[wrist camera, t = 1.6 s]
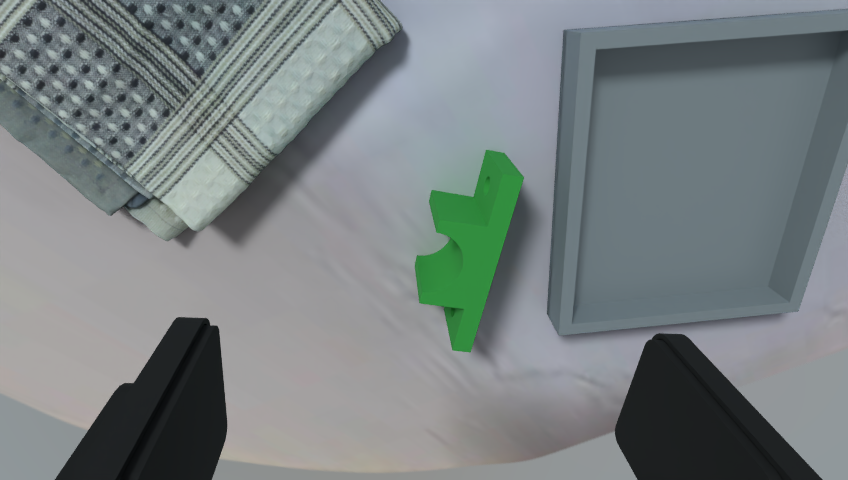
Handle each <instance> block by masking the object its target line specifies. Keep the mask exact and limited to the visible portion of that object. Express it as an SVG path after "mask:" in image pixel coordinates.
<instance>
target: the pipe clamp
mask: <svg viewBox="0 0 848 480" xmlns="http://www.w3.org/2000/svg"><path fill="white" fill-rule="evenodd" d="M523 179H524V177H523V176H522V174H521V173H520V172H519V171H518V169H517V168H516V167H515V166H514V164H513V163H512V162H511V161H510V160H509V158H508V157H507V156H506V155H505V153H501V152H495V151H490V150H486V152H485V156H484V160H483V164H482V167H481V171H480V175H479V179H478V182H477V186H476V190H475V194H474V197H470V196H464V195H458V194H452V193H446V192H440V191H434V190H432V191H431V195H430V200H429V203H430V207H431V212H432V216H433V220H434V224H435V228H436V232H437V233H441V234H444V235H447V236H448V237H450V240H449V242H448V243H447V244H446V246H445V247H444V248H442V249H441V250H440V251H438V252H436V253H434V254H431V255H426V256H418V255H417V258H416V262H415V271H416V279H417V287H418V295H419V303H422V304H429V305H437V306H445V307H444V311H445V316H446V321H447V326H448V331H449V336H450V341H451V346H452V350H454V351H463V352H471V349H472V346H473V342H474V339H475V336H476V333H477V329H478V326H479V323H480V320H481V316H482V313H483V310H484V306H485V303H486V300H487V297H488V293H489V290H490V287H491V284H492V280H493V277H494V274H495V271H496V267H497V264H498V261H499V257H500V254H501V251H502V248H503V244H504V241H505V238H506V235H507V231H508V228H509V225H510V221H511V218H512V215H513V212H514V208H515V205H516V202H517V199H518V195H519V192H520V189H521V186H522V182H523Z"/></svg>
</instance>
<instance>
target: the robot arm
mask: <svg viewBox="0 0 848 480" xmlns="http://www.w3.org/2000/svg"><path fill="white" fill-rule="evenodd" d="M226 434H227V415H226V403H225V392H224V381H223V369H222V358H221V347H220V335H219V328H218V326H210V322H209V320H208V319H207V318H185V317H178V318H176V319H175V320H174V321H173V323H172V325H171V326H170V328H169V329H168V331H167V332H166V334H165V335H164V337H163V339H162V340H161V342H160V343H159V345H158V346H157V348H156V349H155V351H154V353H153V354H152V356H151V357H150V359H149V360H148V362H147V363H146V365H145V367H144V368H143V370H142V371H141V373H140V374H139V376H138V378H137V379H136V381H135V382H134V383H124V384H122V385H121V386H119V387H118V388H117V390H116V391H115V392H114V393H113V395H112V396H111V398H110V399H109V401H108V402H107V404H106V405H105V407H104V408H103V410H102V411H101V412H100V414H99V415H98V417H97V418H96V420H95V421H94V423H93V424H92V426H91V427H90V429H89V430H88V432H87V433H86V435H85V436H84V438H83V439H82V440H81V442H80V444H79V445H78V446H77V448H76V449H75V451H74V453H73V454H72V455H71V457H70V458H69V460H68V461H67V463H66V464H65V466H64V467H63V469H62V470H61V471H60V473H59V474H58V476H57V477H56V479H55V480H212V477H213V474H214V472H215V468H216V466H217V463H218V460H219V457H220V454H221V451H222V448H223V446H224V442H225V439H226ZM615 436H616V440H617V443H618V445H619V447H620V449H621V450H622V452H623V454H624V456H625V457H626V459H627V461H628V463H629V465H630V467H631V469H632V470H633V472H634V474H635V476H636V477H637V479H638V480H822V479H821V478H820V477H819V475H818V474H817V473H816V472H815V471H814V470H813V469H812V468H811V467H810V466H809V465H808V464H807V463H806V462H805V461H804V460H803V459H802V458H801V456H800V455H799V454H798V453H797V452H796V451H795V450H794V449H793V448H792V447H791V446H790V445H789V444H788V443H787V442H786V441H785V440H784V439H783V438H782V436H781V435H780V434H779V433H778V432H777V431H776V430H775V429H774V428H773V427H772V426H771V425H770V424H769V423H768V422H767V421H766V419H765V418H763V416H762V415H761V414H760V413H759V412H758V411H757V410H756V409H755V408H754V407H753V406H752V405H751V404H750V403H749V402H748V401H747V399H745V397H744V396H743V395H742V394H741V393H740V392H739V391H738V390H737V389H736V388H735V387H734V386H733V385H732V384H731V383H730V381H729V380H728V379H727V378H726V377H725V376H724V375H723V374H722V373H721V372H720V371H719V370H718V369H717V368H716V367H715V366H714V365H713V363H712V362H711V361H710V360H709V359H708V358H707V357H706V356H705V355H704V354H703V353H702V352H701V351H700V350H699V349H698V348H697V347H696V346H695V344H694V343H693V342H692V341H691V340H690V339H689V338H688V337H686V336H685V335H682V334H660V333H659V334H656V335H655V336H654V337H653V338H652V340H648V341H647V342H646V344H645V346H644V349H643V352H642V355H641V357H640V360H639V363H638V366H637V369H636V371H635V374H634V377H633V380H632V382H631V385H630V388H629V391H628V394H627V396H626V399H625V402H624V405H623V407H622V410H621V413H620V416H619V418H618V421H617V424H616V428H615Z"/></svg>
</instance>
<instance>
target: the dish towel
mask: <svg viewBox="0 0 848 480" xmlns="http://www.w3.org/2000/svg"><path fill="white" fill-rule="evenodd" d="M401 29H402V24H401V23H400V21H399V20H398V19H397V18H396V17H395V16H394V15H393V13H392V12H391V11H390V10H389V9H388V8H387V7H386V6H385V5H384V4H383V3H382V2H381V1H380V0H0V125H1V126H3V127H4V128H5V129H6V130H7V131H8V132H9V133H10V134H11V135H12V136H13V137H14V138H15V139H16V140H17V141H19V142H21V143H23V144H24V145H25V146H26V147H28V148H29V149H30V150H32V151H33V152H34V153H35V154H37V155H38V156H39V157H40V158H42V159H43V160H44V161H45V162H46V163H47V164H48V165H49V166H50V167H52V168H53V169H54V170H55V171H56V172H57V173H59V174H60V175H61V176H62V177H63V178H65V179H66V180H67V181H68V182H69V183H70V184H71V185H72V186H74V187H75V188H76V189H77V190H78V191H79V192H80V193H81V194H83V195H84V196H85V197H86V198H87V199H88V200H90V201H91V202H92V203H94V204H95V205H96V206H97V207H99V208H100V209H101V210H103V211H105V212H106V213H107V214H108V215H110V216H112V215H113V214H114V213H115V212H116V211H118V210H119V209H120V208H121V207H122V206H123V207H124V208H125V209H126V210H127V211H128V212H129V213H130V214H131V215H132V216H133V217H134V218H135V219H137V220H139V221H141V222H142V223H143V224H145V225H146V226H147V227H148V228H149V229H150V230H151V231H152V232H153V233H154V234H155V235H157V236H158V237H160V238H162V239H163V240H165V241H169V240H170V239H172V238H175V237H177V236H178V235H179V234H180V233H181V232H183V231H184V230H185V229H186V228H188V227H190V228H191V229H192V230H194V231H200V230H203V229H204V228H205V227H206V226H208V225H209V224H210V223H211V222H212V221H213V220H214V219H215V218H216V217H217V216H218V215H220V214H221V213H222V212H223V211H224V210H225V209H226V208H227V207H228V206H229V205H230V204H231V203H232V202H233V201H234V200H235V199H236V198H237V197H238V196H239V195H240V194H241V193H242V192H243V191H244V190H245V189H247V187H248V186H249V185H250V184H251V183H252V181H253V180H254V179H255V178H256V177H257V176H258V174H259V173H260V172H261V171H262V170H263V169H264V168H265V167H266V166H267V165H268V164H269V163H270V162H271V161H272V160H273V159H274V158H275V157H276V156H277V155H278V154H279V153H281V152H282V150H283V149H284V148H285V147H286V146H287V145H288V143H290V142H291V141H292V140H294V138H295V137H296V136H297V135H298V133H299V132H300V131H301V130H302V129H303V128H305V127H306V125H307V124H308V122H309V121H310V119H311V118H312V117H313V116H314V115H315V114H316V113H318V112H319V110H320V109H321V108H322V107H323V106H324V105H325V104H326V103H327V102H328V101H329V100H330V99H331V98H332V97H333V95H334V94H335V93H336V92H337V91H338V90H339V89H340V88H341V87H343V86H344V85H345V83H346V82H347V80H348V79H349V78H350V77H351V76H352V75H353V74H354V73H356V72H357V71H358V69H359V68H360V67H361V66H362V65H363V63H364V62H365V61H366V60H368V59H369V58H371V56H372V55H373V54H374V52H375V51H376V50H377V49H379V48H380V47H381V46H383V45H385V44H387V43H389V42H390V41H391V40H392V39H393V38H394V35H395V34H396V33H397V32H399V31H400V30H401Z"/></svg>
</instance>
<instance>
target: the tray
mask: <svg viewBox="0 0 848 480" xmlns="http://www.w3.org/2000/svg"><path fill="white" fill-rule="evenodd" d="M847 164H848V9H841V10H828V11H814V12H801V13H787V14H774V15H760V16H747V17H733V18H720V19H706V20H693V21H679V22H666V23H652V24H639V25H625V26H612V27H598V28H585V29H571V30H564V33H563V50H562V67H561V84H560V101H559V118H558V135H557V152H556V169H555V186H554V203H553V220H552V237H551V254H550V271H549V287H548V304H547V314H548V316H549V318H550V320H551V322H552V324H553V326H554V328H555V329H556V331H557V333H558V335H569V334H579V333H589V332H599V331H609V330H619V329H629V328H639V327H649V326H659V325H669V324H679V323H689V322H699V321H709V320H719V319H729V318H739V317H749V316H758V315H768V314H778V313H788V312H798V311H799V308H800V305H801V302H802V299H803V296H804V293H805V290H806V287H807V284H808V281H809V278H810V275H811V272H812V269H813V266H814V263H815V260H816V257H817V254H818V251H819V248H820V245H821V242H822V239H823V236H824V233H825V230H826V227H827V224H828V221H829V218H830V215H831V212H832V209H833V206H834V203H835V200H836V197H837V194H838V191H839V188H840V185H841V182H842V179H843V176H844V173H845V170H846V167H847Z"/></svg>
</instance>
